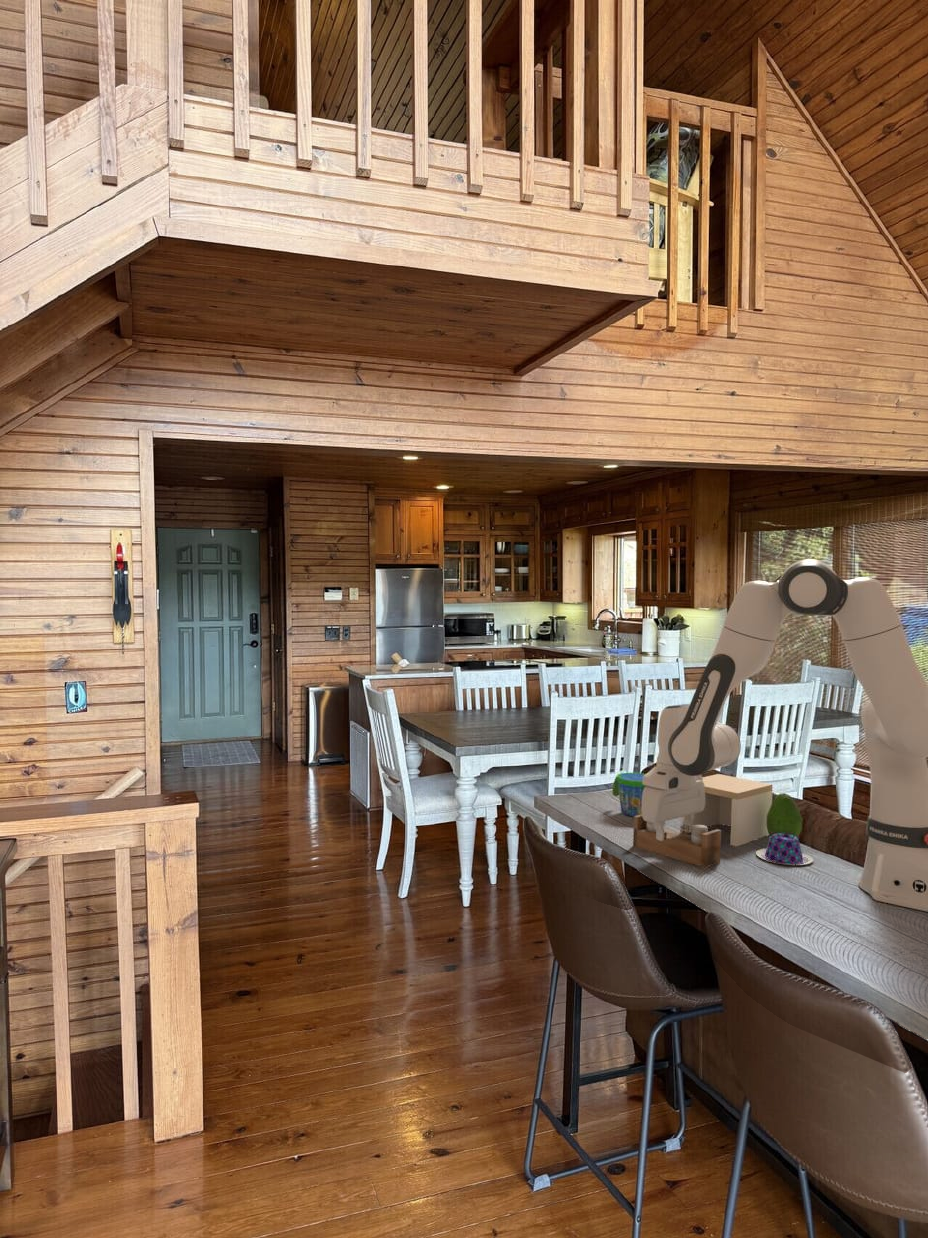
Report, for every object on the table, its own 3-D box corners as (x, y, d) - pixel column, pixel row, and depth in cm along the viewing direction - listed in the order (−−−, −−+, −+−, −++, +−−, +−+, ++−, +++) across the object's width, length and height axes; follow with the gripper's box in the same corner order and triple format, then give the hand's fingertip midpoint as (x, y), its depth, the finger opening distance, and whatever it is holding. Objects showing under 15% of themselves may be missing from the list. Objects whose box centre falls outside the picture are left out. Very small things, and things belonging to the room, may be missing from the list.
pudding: (822, 869, 180) (822, 845, 180) (766, 867, 180) (766, 843, 180) (800, 852, 192) (801, 829, 192) (748, 850, 192) (749, 828, 192)
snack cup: (670, 819, 217) (672, 780, 217) (639, 823, 212) (640, 784, 212) (632, 805, 231) (633, 769, 231) (601, 809, 226) (602, 772, 226)
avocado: (767, 846, 195) (768, 795, 195) (764, 837, 203) (765, 788, 202) (803, 849, 193) (805, 798, 193) (799, 840, 201) (801, 791, 200)
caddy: (648, 841, 197) (649, 810, 197) (720, 862, 183) (721, 828, 182) (633, 846, 193) (634, 814, 193) (704, 867, 179) (705, 832, 178)
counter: (770, 835, 205) (772, 784, 205) (736, 846, 194) (737, 793, 194) (716, 821, 216) (718, 774, 216) (681, 832, 206) (682, 781, 205)
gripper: (690, 768, 196) (687, 826, 197) (637, 778, 183) (634, 840, 183) (713, 772, 192) (711, 832, 192) (661, 783, 178) (658, 847, 178)
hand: (673, 836), depth 187 cm, fingers open, 8 cm apart
